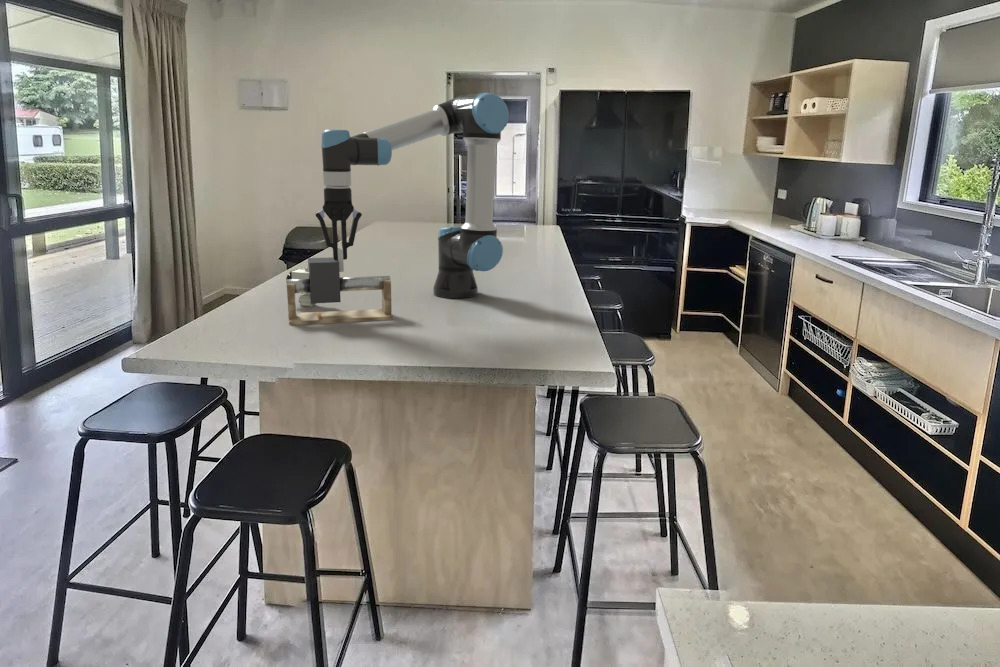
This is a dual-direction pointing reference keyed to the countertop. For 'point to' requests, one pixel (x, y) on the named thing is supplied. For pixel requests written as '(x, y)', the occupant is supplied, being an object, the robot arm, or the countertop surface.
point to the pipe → (344, 283)
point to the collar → (324, 280)
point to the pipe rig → (340, 315)
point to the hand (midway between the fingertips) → (340, 270)
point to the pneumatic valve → (301, 274)
